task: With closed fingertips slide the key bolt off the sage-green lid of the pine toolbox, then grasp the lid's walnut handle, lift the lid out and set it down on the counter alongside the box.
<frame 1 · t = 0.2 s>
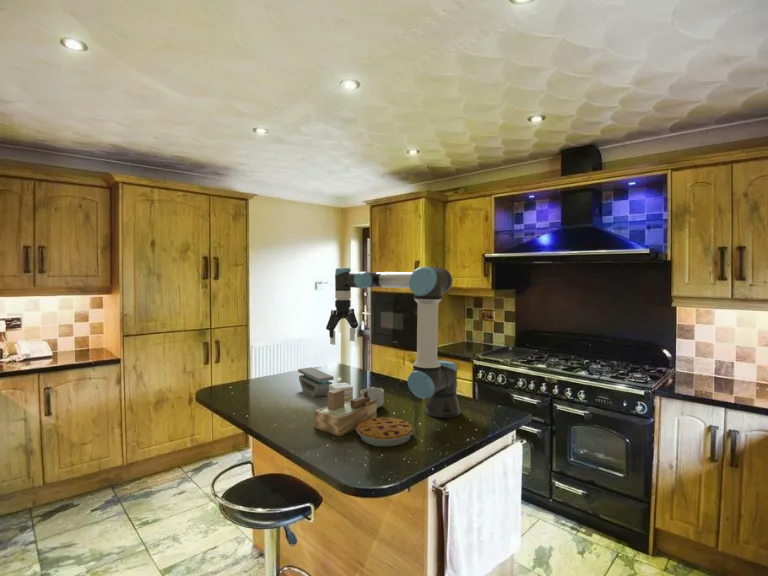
hand: (342, 342, 207), 28 cm above the counter, fingers open, 13 cm apart
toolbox: (341, 426, 171), on the counter
lid: (341, 411, 170), point 6 cm above the counter, touching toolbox
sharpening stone: (315, 394, 217), on the counter
key bolt: (360, 399, 174), point 10 cm above the counter, slide at 0.0 cm
pie: (384, 437, 161), on the counter
ink box: (340, 411, 190), on the counter
teacup: (372, 406, 197), on the counter
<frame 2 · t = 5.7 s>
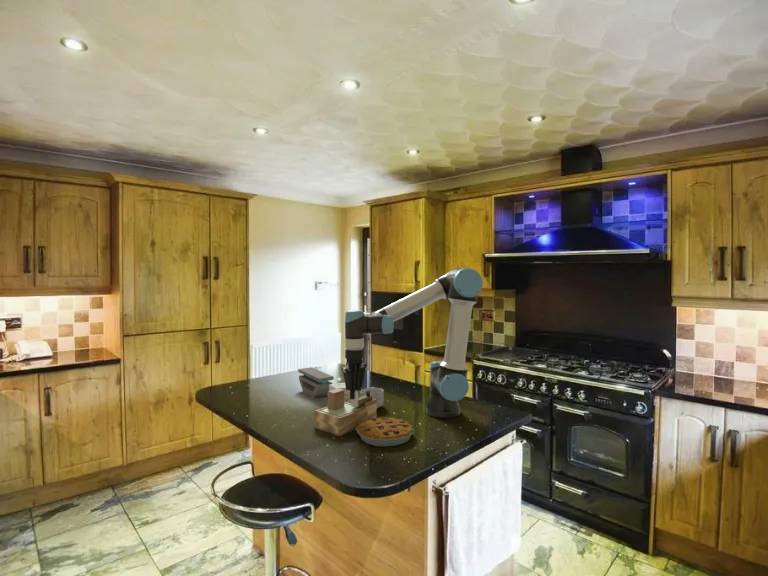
hand: (354, 406, 171), 8 cm above the counter, fingers closed
key bolt: (362, 398, 175), point 10 cm above the counter, slide at 1.5 cm, touching gripper
everything else where it was.
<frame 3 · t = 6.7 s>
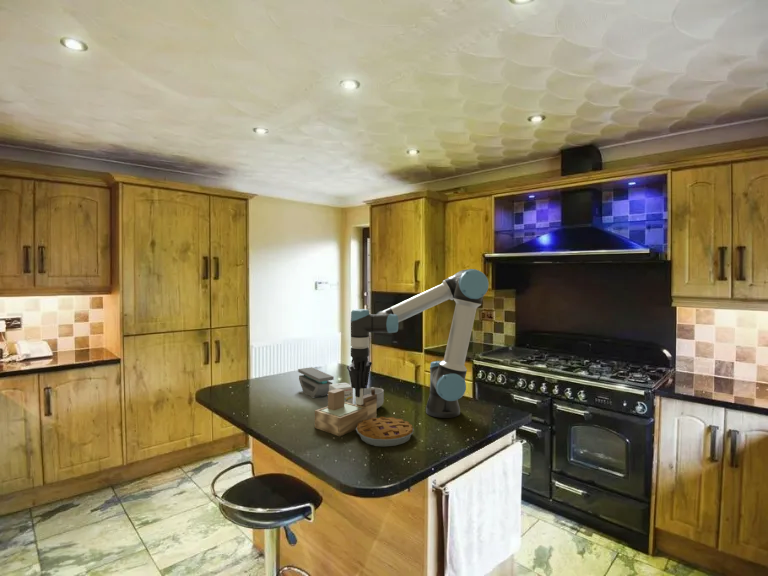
hand: (359, 404, 174), 8 cm above the counter, fingers closed
key bolt: (367, 396, 178), point 10 cm above the counter, slide at 4.7 cm, touching gripper
everything else where it was.
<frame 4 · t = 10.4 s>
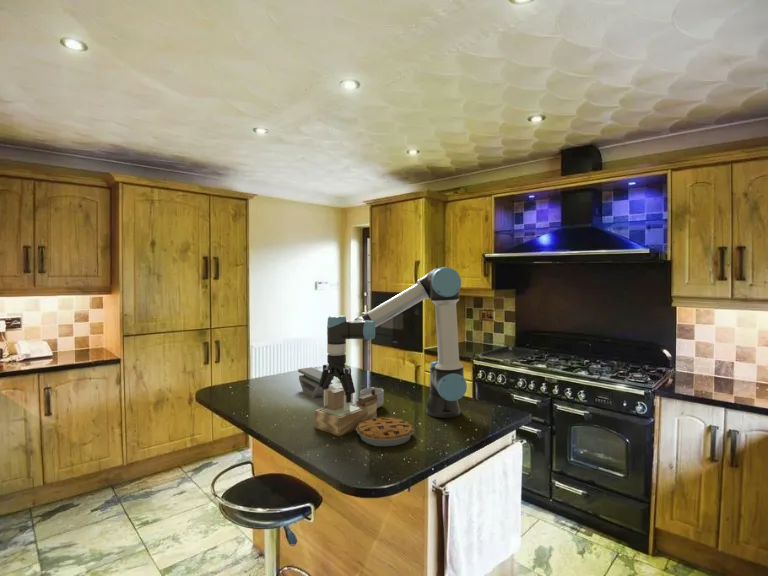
hand: (336, 407, 172), 7 cm above the counter, fingers open, 11 cm apart
lid: (341, 411, 170), point 6 cm above the counter, touching gripper, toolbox
key bolt: (367, 396, 178), point 10 cm above the counter, slide at 4.8 cm
everything else where it was.
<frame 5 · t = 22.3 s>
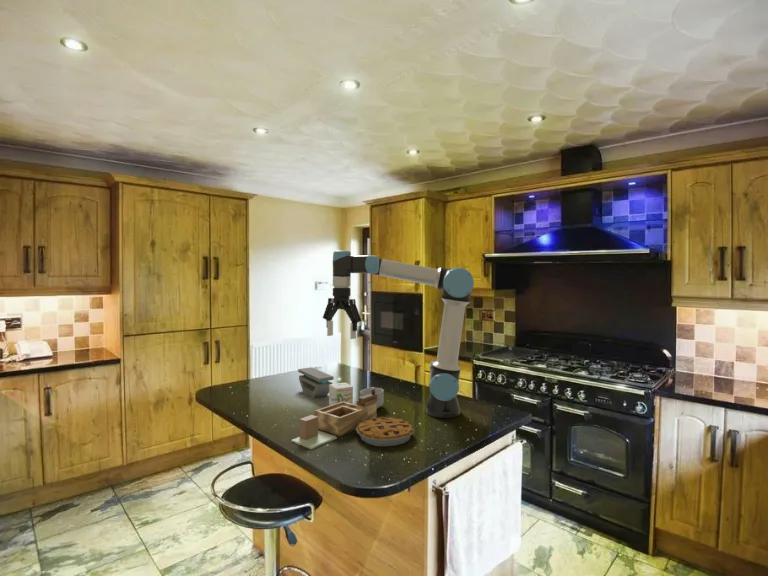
hand: (341, 337, 179), 35 cm above the counter, fingers open, 13 cm apart
lid: (314, 440, 156), on the counter
everything else where it was.
at the end: key bolt slide at 4.8 cm; lid inside the target area (5.3 cm from its centre), on the counter; lid tilted 0° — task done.
